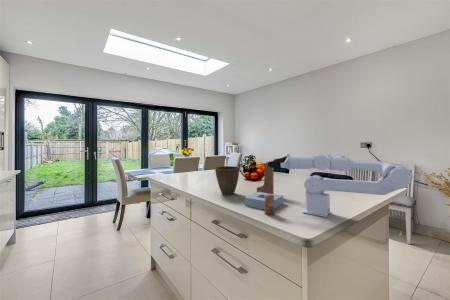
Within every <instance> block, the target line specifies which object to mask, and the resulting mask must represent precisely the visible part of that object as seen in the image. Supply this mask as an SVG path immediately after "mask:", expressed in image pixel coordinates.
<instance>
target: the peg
mask: <svg viewBox="0 0 450 300" xmlns="http://www.w3.org/2000/svg"><path fill="white" fill-rule="evenodd" d="M264 215H266V216H274V215H275V209H274V195H272V194H266V195H265V210H264Z"/></svg>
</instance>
